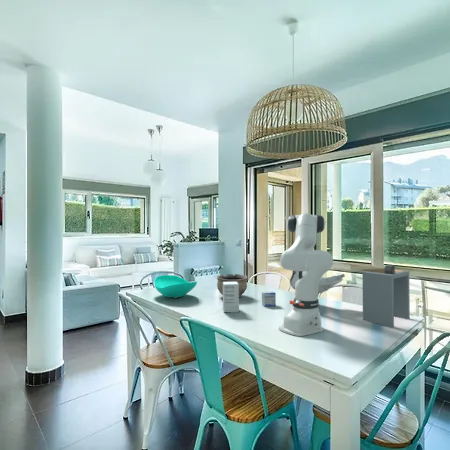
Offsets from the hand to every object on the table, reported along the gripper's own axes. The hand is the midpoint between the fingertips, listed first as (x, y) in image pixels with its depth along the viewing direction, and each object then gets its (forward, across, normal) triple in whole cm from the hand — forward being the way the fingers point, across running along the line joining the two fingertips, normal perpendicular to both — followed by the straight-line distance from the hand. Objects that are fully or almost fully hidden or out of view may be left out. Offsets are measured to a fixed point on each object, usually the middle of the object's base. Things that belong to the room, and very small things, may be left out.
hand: (339, 276), depth 179 cm
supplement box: (-48, -49, -3) cm, 69 cm away
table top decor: (-93, -58, -29) cm, 113 cm away
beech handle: (+19, 0, +5) cm, 20 cm away
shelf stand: (+11, +5, +30) cm, 33 cm away
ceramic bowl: (-70, -26, -16) cm, 77 cm away
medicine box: (-42, -23, 0) cm, 48 cm away
